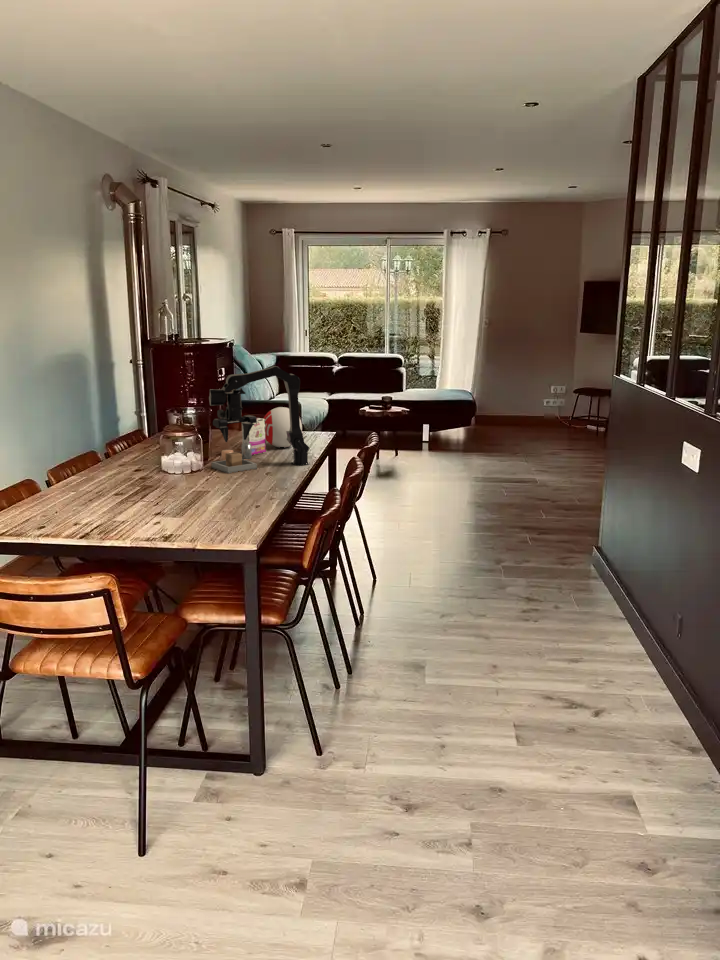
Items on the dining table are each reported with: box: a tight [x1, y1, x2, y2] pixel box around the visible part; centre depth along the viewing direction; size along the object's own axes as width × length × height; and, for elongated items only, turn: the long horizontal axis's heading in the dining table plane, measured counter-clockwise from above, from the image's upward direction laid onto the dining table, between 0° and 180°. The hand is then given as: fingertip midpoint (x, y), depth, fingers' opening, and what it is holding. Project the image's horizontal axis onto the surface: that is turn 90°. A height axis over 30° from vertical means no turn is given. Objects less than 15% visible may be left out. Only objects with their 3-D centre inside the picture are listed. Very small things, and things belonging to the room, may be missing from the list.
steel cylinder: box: [241, 443, 253, 460], centre depth 337 cm, size 4×4×7 cm
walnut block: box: [226, 451, 242, 467], centre depth 318 cm, size 5×5×6 cm
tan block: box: [221, 449, 234, 461], centre depth 331 cm, size 5×5×5 cm
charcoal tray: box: [211, 459, 258, 474], centre depth 318 cm, size 14×14×2 cm
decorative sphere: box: [263, 406, 303, 448], centre depth 365 cm, size 20×20×20 cm
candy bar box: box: [241, 417, 267, 456], centre depth 348 cm, size 11×5×16 cm, turn 143°
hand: (235, 440), depth 317 cm, fingers open, 9 cm apart
